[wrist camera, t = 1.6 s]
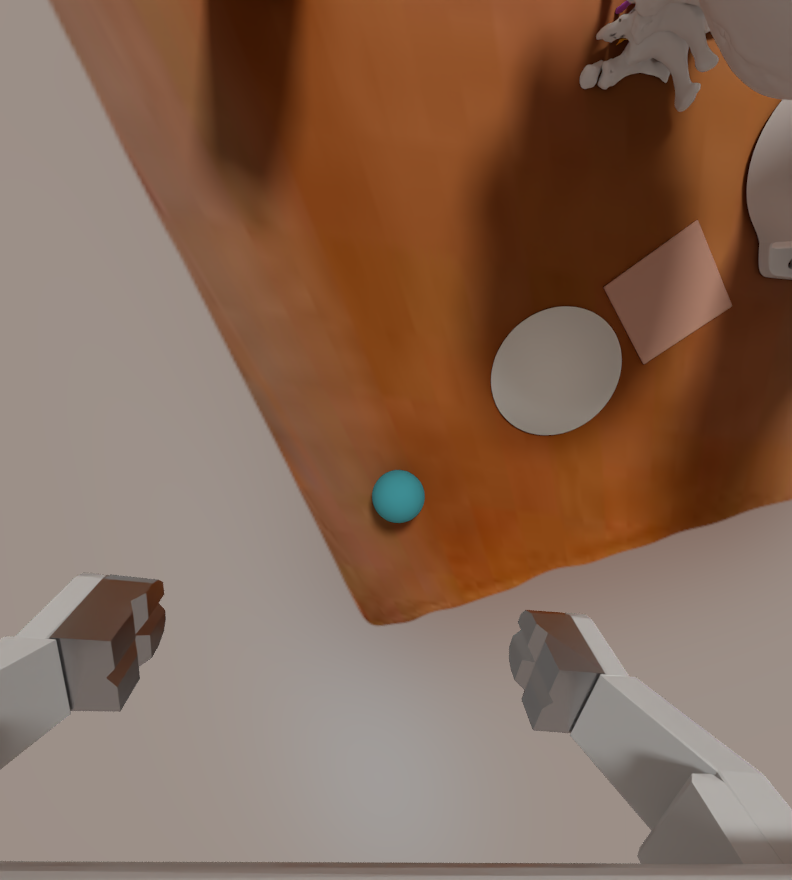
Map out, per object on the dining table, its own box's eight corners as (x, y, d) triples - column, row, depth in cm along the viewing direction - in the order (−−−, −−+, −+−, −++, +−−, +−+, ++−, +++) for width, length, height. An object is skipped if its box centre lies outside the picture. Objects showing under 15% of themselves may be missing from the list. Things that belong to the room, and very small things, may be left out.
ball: (428, 467, 43) (434, 493, 38) (414, 509, 45) (417, 538, 40) (379, 456, 42) (379, 480, 37) (367, 498, 44) (365, 527, 39)
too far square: (696, 220, 34) (697, 219, 34) (730, 306, 37) (732, 306, 37) (603, 287, 36) (604, 287, 36) (642, 363, 39) (644, 364, 39)
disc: (644, 327, 38) (646, 327, 38) (585, 447, 42) (585, 447, 42) (520, 289, 36) (521, 289, 36) (472, 417, 41) (473, 418, 41)
